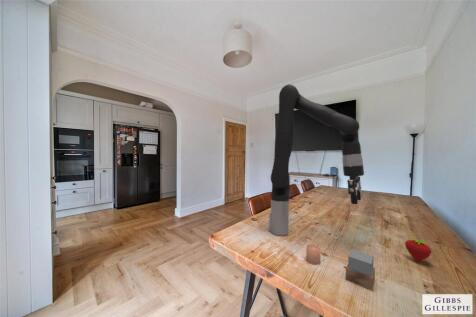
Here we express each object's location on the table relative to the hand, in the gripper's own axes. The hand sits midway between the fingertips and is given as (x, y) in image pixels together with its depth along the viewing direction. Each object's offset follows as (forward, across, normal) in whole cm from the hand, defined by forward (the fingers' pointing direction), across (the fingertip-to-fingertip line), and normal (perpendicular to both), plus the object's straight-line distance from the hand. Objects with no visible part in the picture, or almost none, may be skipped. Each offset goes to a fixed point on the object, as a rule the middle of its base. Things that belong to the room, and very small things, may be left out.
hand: (356, 201), depth 77 cm
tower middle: (+17, +22, +3) cm, 28 cm away
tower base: (+21, +23, +3) cm, 31 cm away
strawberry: (+23, -5, +17) cm, 29 cm away
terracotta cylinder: (+19, +23, -12) cm, 32 cm away
